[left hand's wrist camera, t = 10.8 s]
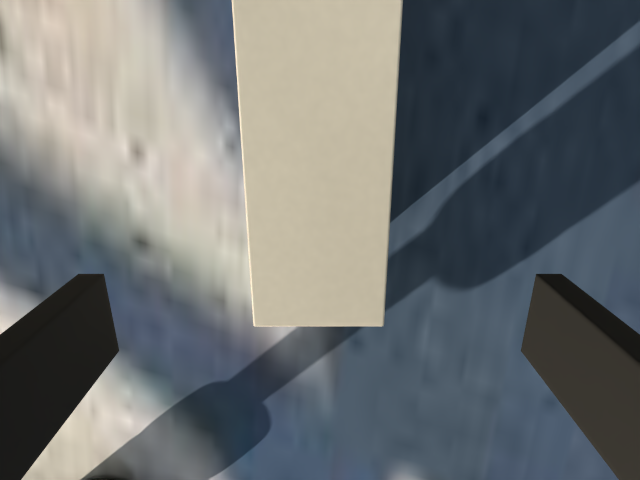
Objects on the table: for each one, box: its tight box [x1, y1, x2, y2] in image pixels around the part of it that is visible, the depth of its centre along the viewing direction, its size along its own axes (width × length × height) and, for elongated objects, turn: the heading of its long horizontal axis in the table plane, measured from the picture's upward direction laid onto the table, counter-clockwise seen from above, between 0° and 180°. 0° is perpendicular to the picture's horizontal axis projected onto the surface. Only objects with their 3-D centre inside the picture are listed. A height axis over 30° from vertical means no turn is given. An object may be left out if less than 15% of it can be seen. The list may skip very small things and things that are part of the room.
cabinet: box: [232, 0, 403, 326], centre depth 22 cm, size 16×6×11 cm, turn 0°
